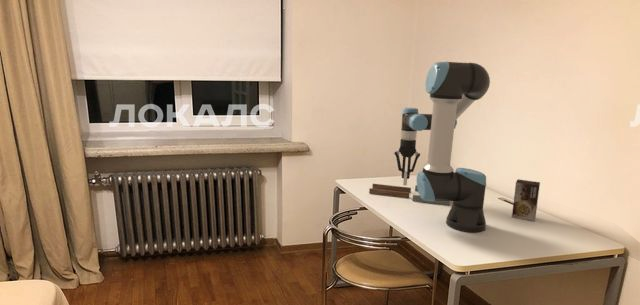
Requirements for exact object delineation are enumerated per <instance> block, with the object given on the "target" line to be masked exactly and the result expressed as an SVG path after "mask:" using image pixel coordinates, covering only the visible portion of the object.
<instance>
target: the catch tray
mask: <svg viewBox="0 0 640 305" xmlns="http://www.w3.org/2000/svg"><path fill="white" fill-rule="evenodd" d="M414 192H418V189H417V184H415V186H414ZM412 202H415V203H416V202H417V203H423V204H424V203H426V204H432V205H433V204H434V205H441V206H442V205H443V206H450V202H451V201H435V202H432V201H425V200H423V199H422V198H421V197H420V195H419V194H412Z"/></svg>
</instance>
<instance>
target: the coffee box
mask: <svg viewBox="0 0 640 305" xmlns="http://www.w3.org/2000/svg"><path fill="white" fill-rule="evenodd" d="M540 186H541V182H540V181H532V180H524V179H520V178H518V179H516V182H515V188H514V196H513V205H512V212H511V218H514V219H520V220H525V221H530V222H535V221H536V218H537V217H536V216H537V210H538V209H537V208H538V203H539V202H538V201H539V195H540V194H539V193H540Z"/></svg>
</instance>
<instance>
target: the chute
mask: <svg viewBox="0 0 640 305" xmlns="http://www.w3.org/2000/svg"><path fill="white" fill-rule="evenodd" d="M371 187H372V188H371ZM371 187H369V189H368V190H369V191H368V194H369V195H379V196H387V197H396V198H403V199H410V194H411V192H412V187H407V186H400V185H397V186H396V185H390V184H382V183H381V184H380V183H372V185H371Z"/></svg>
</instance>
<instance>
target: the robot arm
mask: <svg viewBox="0 0 640 305" xmlns="http://www.w3.org/2000/svg"><path fill="white" fill-rule="evenodd" d="M424 84H425V86H424V87H425V91H426V93H427V94H429V99H430V100H431V101H432V105H433V106H432V112H431V113H419V109H418V108H417V107H403V108H402V113H401V130H400V138H401V139H400V146H399V148H398V150H395V151H394V153H393V154H394V155H395V157H396V163H397V169H398V171H399V172H401V179H403V182H402V183H403V186H407V185H408V180H409V179H410V178H411V177H410V175H411V173H413V172H414V170H415V168H416V164H417V161H418V159H419V158H420V156H421V153H420V152H418V151H417V149H416V148H417V147H416V145H417V140H416V139H417V136H418V135H417V133H418V132H423V131H430V135H429V141H428V142H429V144H428V145H429V146H428V153H427V154H428V155H427V162H426V163H425V164H424V165H423V166H422V171H418V173H417V174H416V185H417V189H418V191H417V192H418V195H420V197H421V198H422V199H423V200H425V201H432V202H435V201H450V202H452V206H451V208H450V209H449V211H448V214H447V216H446V221H445V223H446V225H447V226H448V227H450V228H452V229H454V230H457V231H460V232H465V233H481V232H484V231H485V230H486V227H487V223H486V222H487V221H486V218H485V214H484V213H485V212H484V205H485V202H484V201H485V196H486V188H487V187H486V186H487V176H486V175H485V173H484V172H482V171H479V170H475V169H471V168H466V167H456V168H455V171H454V168H453V167H452V166H451V160H452V151H453V142H454V135H455V134H454V133H455V130H456V127H457V123H458V119H459V117H461V115H462V114H463V113H464V112H465V111H466V110H468V109H469V107H470V106H471V105H472V104H474V102H475V101H478V100H480V99H482V98H483V97H484V96H485V95H486V93H488V91H489V88H490V84H491V77H490V74H489V72H488V71H487V70H486V68H485V67H484V66H483V65H481V64H478V63H476V62H457V61H456V62H454V61H438V62H435V63H433V64H432V65H431V67H429V69H428V72H427V75H426V78H425V83H424ZM417 131H418V132H417ZM400 155H401V156H402V165H401V158H400ZM413 156H415V157H414V160H413V163H412V157H413ZM406 159H407V170H406ZM411 164H412V166H411Z"/></svg>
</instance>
